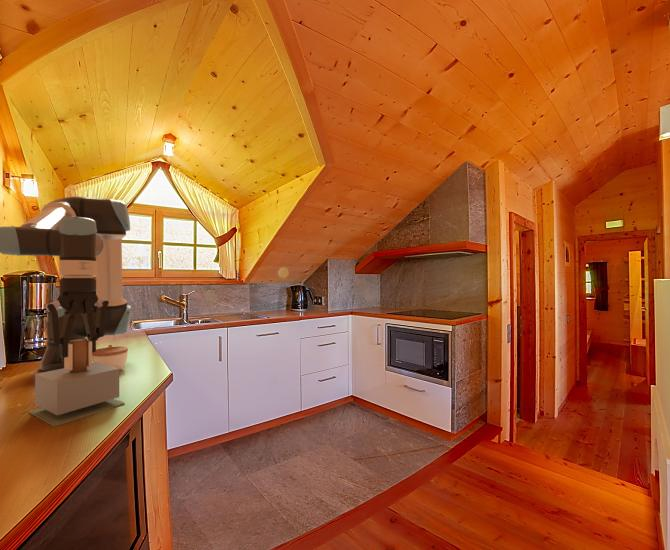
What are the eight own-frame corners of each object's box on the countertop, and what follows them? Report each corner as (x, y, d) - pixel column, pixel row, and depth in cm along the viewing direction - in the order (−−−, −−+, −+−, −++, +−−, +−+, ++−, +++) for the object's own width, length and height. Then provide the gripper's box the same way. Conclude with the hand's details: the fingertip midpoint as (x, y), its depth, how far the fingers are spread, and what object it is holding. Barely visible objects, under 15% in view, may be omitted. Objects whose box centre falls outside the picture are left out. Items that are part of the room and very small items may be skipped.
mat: (97, 394, 94) (97, 392, 94) (124, 404, 86) (124, 402, 86) (29, 412, 81) (29, 411, 81) (53, 427, 73) (53, 425, 73)
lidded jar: (109, 376, 110) (109, 349, 110) (83, 374, 112) (83, 347, 112) (134, 367, 121) (134, 342, 121) (110, 366, 123) (110, 341, 123)
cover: (95, 388, 92) (95, 334, 92) (119, 397, 86) (119, 338, 86) (35, 404, 81) (35, 342, 81) (57, 415, 74) (57, 348, 74)
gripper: (42, 277, 74) (42, 378, 74) (120, 277, 89) (120, 362, 88) (30, 277, 78) (30, 373, 78) (107, 277, 92) (107, 358, 92)
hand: (78, 367), depth 83 cm, fingers closed on cover, 4 cm apart
